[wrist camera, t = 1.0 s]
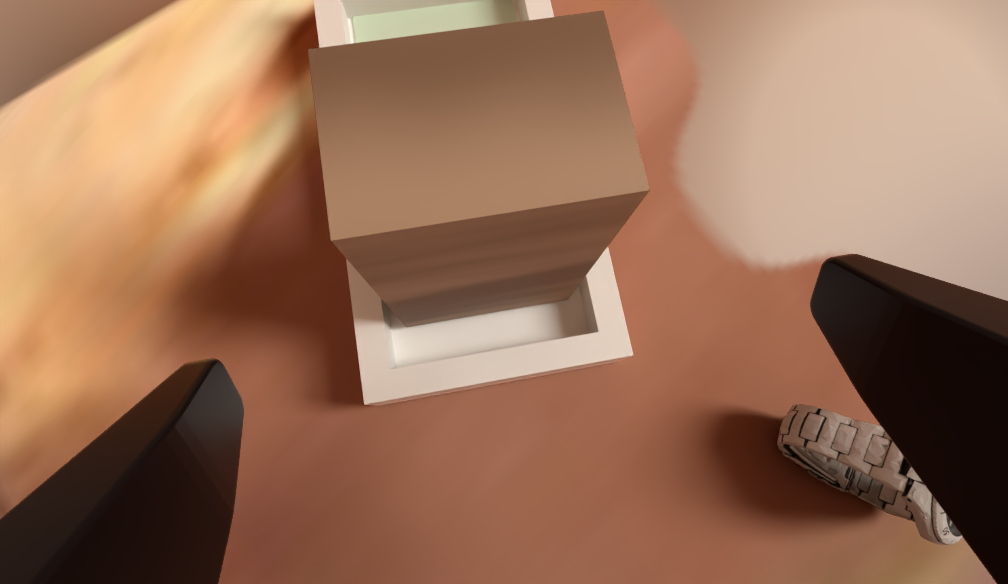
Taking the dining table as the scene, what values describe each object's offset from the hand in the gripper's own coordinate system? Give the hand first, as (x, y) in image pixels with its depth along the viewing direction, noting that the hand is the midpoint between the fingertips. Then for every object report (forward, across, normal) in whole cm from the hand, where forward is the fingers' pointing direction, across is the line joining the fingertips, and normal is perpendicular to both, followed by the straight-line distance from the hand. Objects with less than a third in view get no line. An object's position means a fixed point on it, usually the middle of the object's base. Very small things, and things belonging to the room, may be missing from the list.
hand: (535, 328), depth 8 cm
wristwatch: (+5, -12, +13) cm, 18 cm away
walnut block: (+11, 0, +6) cm, 12 cm away
